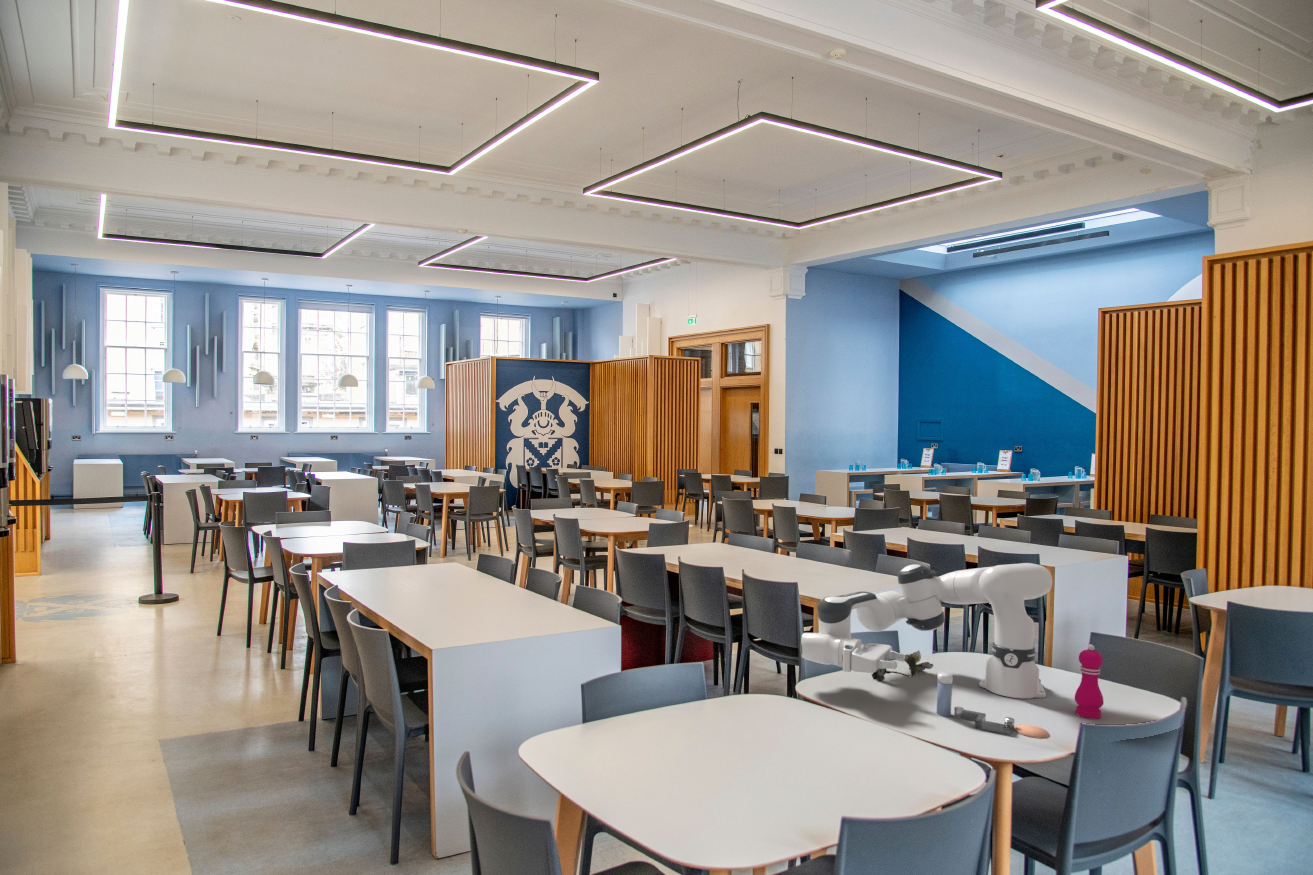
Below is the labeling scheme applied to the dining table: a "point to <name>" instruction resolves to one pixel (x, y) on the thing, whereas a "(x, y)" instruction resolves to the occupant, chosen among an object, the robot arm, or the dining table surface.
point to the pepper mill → (1089, 685)
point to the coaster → (1031, 731)
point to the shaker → (944, 693)
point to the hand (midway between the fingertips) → (900, 661)
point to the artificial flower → (911, 661)
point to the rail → (983, 724)
